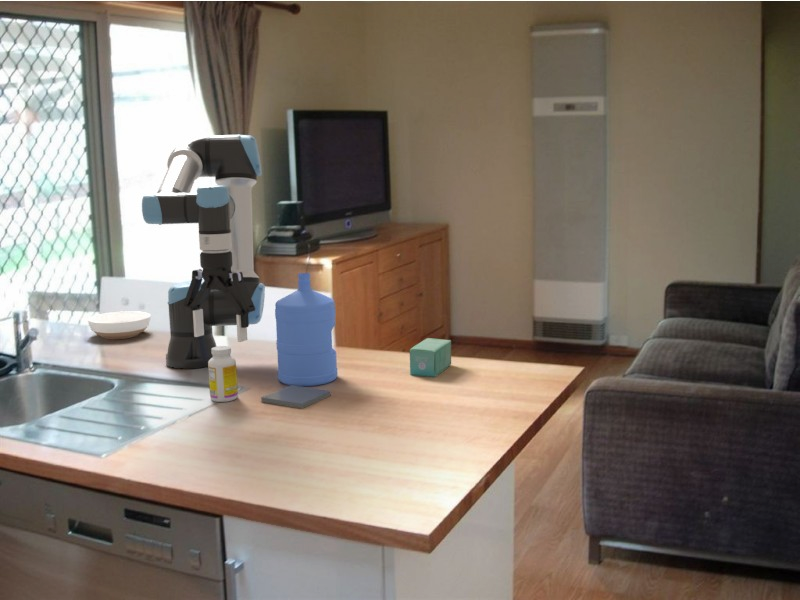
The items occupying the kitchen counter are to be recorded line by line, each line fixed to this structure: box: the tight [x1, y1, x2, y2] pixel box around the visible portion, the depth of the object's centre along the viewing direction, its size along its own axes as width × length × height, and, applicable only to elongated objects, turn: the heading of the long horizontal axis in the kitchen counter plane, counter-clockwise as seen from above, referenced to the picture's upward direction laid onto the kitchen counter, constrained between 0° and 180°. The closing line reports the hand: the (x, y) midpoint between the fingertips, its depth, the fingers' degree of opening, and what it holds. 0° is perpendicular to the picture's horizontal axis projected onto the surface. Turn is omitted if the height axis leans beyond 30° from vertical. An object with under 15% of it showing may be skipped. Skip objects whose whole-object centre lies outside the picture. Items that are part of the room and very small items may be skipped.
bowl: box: [88, 310, 151, 340], centre depth 295 cm, size 20×20×6 cm
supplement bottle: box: [207, 345, 239, 403], centre depth 221 cm, size 7×7×13 cm
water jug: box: [274, 272, 338, 387], centre depth 236 cm, size 16×16×28 cm
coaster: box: [261, 385, 332, 409], centre depth 221 cm, size 12×12×1 cm
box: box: [409, 337, 452, 378], centre depth 244 cm, size 7×14×8 cm, turn 158°
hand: (220, 338), depth 219 cm, fingers open, 13 cm apart
